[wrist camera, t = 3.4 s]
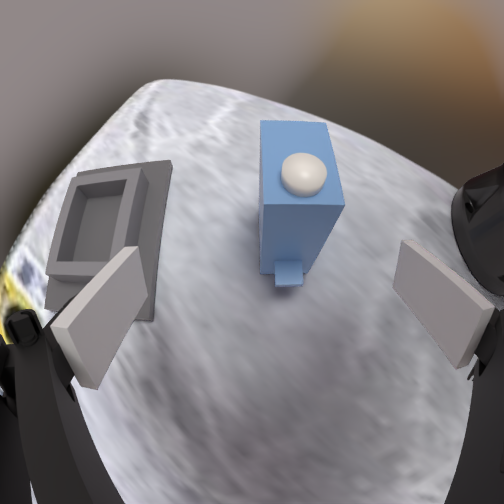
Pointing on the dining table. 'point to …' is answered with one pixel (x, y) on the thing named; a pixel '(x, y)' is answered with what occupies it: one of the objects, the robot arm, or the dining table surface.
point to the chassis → (108, 228)
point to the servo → (295, 197)
